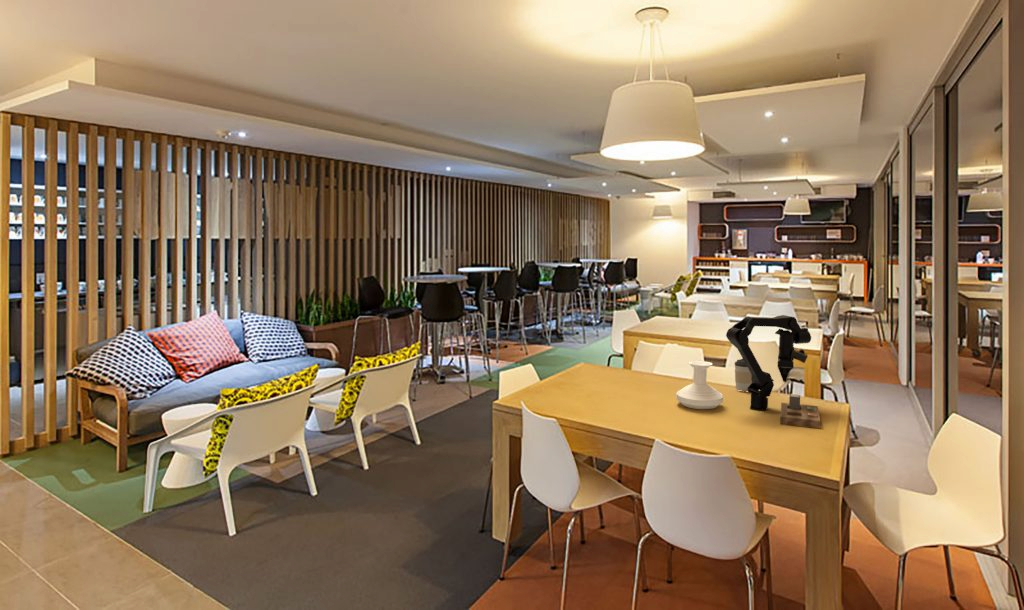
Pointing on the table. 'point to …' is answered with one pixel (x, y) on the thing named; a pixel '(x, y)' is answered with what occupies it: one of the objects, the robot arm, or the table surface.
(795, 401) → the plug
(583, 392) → the table surface
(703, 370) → the candle holder
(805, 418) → the socket board
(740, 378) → the coffee cup
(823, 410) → the table surface
